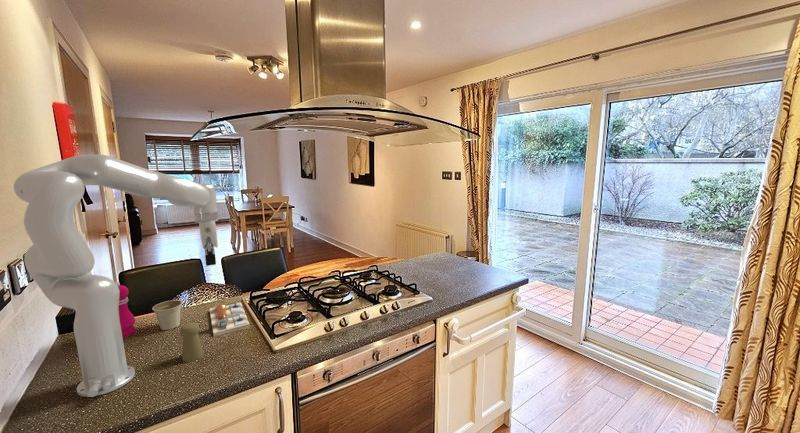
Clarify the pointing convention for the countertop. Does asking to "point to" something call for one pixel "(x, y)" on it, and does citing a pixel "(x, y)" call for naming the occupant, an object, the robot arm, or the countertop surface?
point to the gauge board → (229, 319)
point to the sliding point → (224, 314)
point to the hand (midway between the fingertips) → (210, 261)
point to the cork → (191, 342)
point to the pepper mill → (125, 312)
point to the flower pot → (168, 314)
